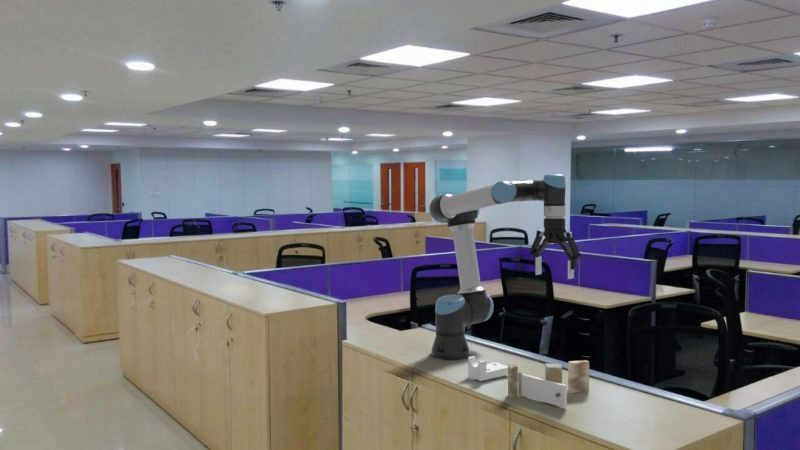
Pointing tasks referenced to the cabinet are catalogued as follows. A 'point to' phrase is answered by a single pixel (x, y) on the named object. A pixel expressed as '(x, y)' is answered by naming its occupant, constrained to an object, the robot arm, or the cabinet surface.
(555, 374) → the box
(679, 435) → the cabinet surface
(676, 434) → the cabinet surface
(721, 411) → the cabinet surface
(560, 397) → the door
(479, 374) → the bracket
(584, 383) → the door frame
